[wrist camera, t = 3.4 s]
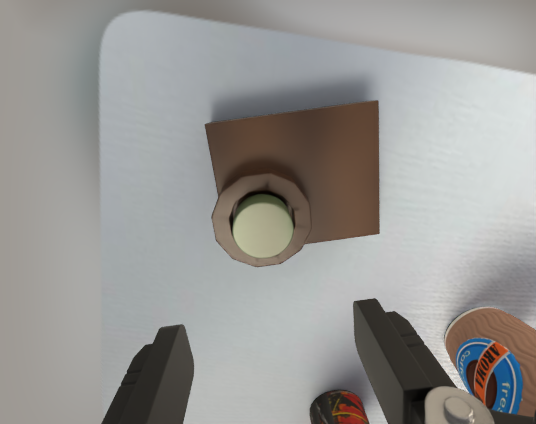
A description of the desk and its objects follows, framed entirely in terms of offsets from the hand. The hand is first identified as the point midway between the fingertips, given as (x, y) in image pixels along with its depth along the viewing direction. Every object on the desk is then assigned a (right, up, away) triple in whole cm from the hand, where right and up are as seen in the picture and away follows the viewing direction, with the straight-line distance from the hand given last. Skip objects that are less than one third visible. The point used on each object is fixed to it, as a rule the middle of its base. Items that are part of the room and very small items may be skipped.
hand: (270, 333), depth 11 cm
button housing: (+2, +7, +14) cm, 16 cm away
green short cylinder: (-1, +4, +11) cm, 11 cm away
